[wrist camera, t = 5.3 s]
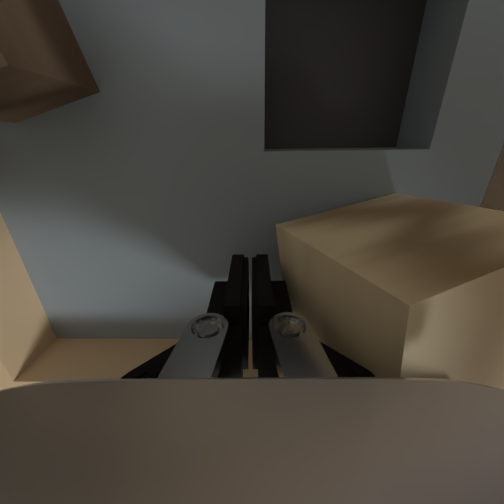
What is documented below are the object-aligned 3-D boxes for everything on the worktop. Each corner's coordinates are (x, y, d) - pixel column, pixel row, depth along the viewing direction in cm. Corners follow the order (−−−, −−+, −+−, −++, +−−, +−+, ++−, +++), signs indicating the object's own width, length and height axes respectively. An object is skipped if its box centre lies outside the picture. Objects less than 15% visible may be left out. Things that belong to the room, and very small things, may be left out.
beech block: (395, 193, 11) (602, 227, 6) (386, 301, 14) (526, 392, 8) (275, 224, 10) (409, 305, 5) (289, 338, 12) (385, 477, 7)
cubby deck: (518, -81, 10) (850, -359, 4) (399, 322, 18) (460, 401, 13) (-73, -60, 10) (-444, -282, 5) (75, 321, 19) (0, 396, 13)
